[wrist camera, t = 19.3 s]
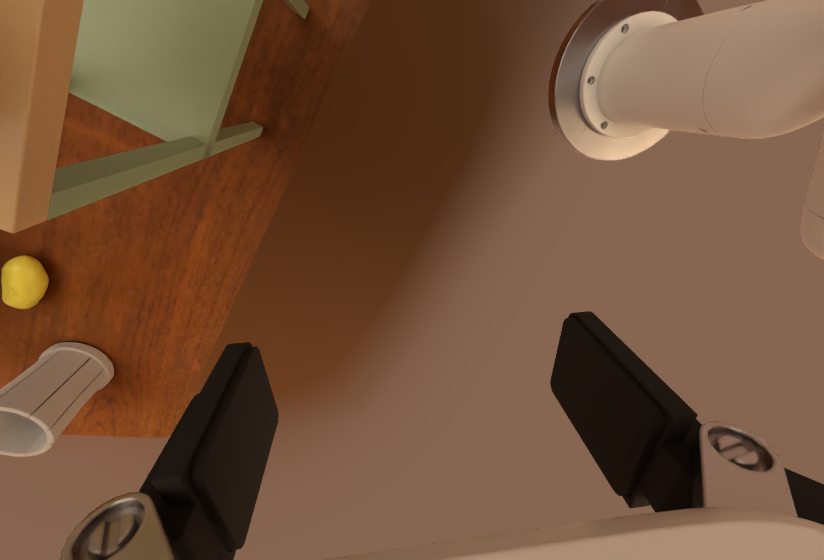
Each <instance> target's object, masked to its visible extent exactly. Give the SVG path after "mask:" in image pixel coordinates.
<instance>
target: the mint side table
mask: <svg viewBox="0 0 824 560" xmlns="http://www.w3.org/2000/svg"><path fill="white" fill-rule="evenodd" d="M283 1H284V2H285V3H286V4H287V5H288V6H289V8H290V9H291V10H292V11H293V12H294V13H295V14H297V15H298V16H300V17H301V18H302V19H304V20H305V19H306V16H307V14H308V11H309V6H308V5H307V3H306V2H305V1H304V0H283ZM262 2H263V0H0V229H2V230H4V231H7V232H10V233H16V232H19V231H21V230H24V229H26V228H29V227H31V226H34V225H36V224H39V223H41V222H44V221H46V220H50V219H52V218H55V217H57V216H60V215H62V214H65V213H67V212H70V211H72V210H75V209H78V208H80V207H83V206H85V205H88V204H90V203H93V202H95V201H98V200H100V199H103V198H105V197H108V196H110V195H113V194H116V193H118V192H121V191H123V190H126V189H128V188H131V187H133V186H136V185H138V184H141V183H143V182H146V181H148V180H151V179H154V178H156V177H159V176H161V175H164V174H166V173H169V172H171V171H174V170H176V169H179V168H181V167H184V166H186V165H189V164H192V163H194V162H197V161H199V160H202V159H204V158H207V157H209V156H212V155H214V154H217V153H219V152H222V151H224V150H227V149H230V148H232V147H235V146H237V145H240V144H242V143H245V142H247V141H250V140H252V139H255V138H257V137H260V135H261V132H262V130H263V127H262V126H261V125H259V124H257V123H255V122H254V121H252V122H248V123H244V124H240V125H236V126H231V127H227V128H223V129H219V128H220V125H221V123H222V120H223V117H224V114H225V111H226V108H227V105H228V102H229V99H230V96H231V93H232V90H233V87H234V84H235V81H236V79H237V76H238V73H239V70H240V67H241V64H242V61H243V58H244V55H245V52H246V49H247V46H248V43H249V40H250V37H251V35H252V32H253V29H254V26H255V23H256V20H257V17H258V14H259V11H260V8H261V5H262ZM68 92H69V93H71V94H73V95H75V96H77V97H79V98H81V99H83V100H85V101H87V102H89V103H91V104H93V105H95V106H97V107H99V108H101V109H103V110H105V111H107V112H109V113H111V114H113V115H115V116H117V117H119V118H121V119H123V120H125V121H127V122H129V123H131V124H133V125H135V126H137V127H139V128H141V129H143V130H145V131H147V132H149V133H151V134H153V135H155V136H157V137H159V138H161V139H163V140H165V141H167V142H164V143H160V144H156V145H152V146H148V147H143V148H139V149H135V150H131V151H127V152H123V153H118V154H114V155H110V156H106V157H102V158H97V159H93V160H89V161H85V162H81V163H76V164H72V165H68V166H64V167H60V168H56V163H57V157H58V151H59V145H60V139H61V133H62V127H63V121H64V115H65V109H66V103H67V97H68Z"/></svg>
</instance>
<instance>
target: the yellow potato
mask: <svg viewBox="0 0 824 560" xmlns="http://www.w3.org/2000/svg"><path fill="white" fill-rule="evenodd" d="M1 283H2V300H3V302H4V303H5V304H7V305H9V306H11V307H14V308H18V309H27V308H31V307H33V306H35V305H36V304H37V303H38V302H39V300H40V299H41V298H42V297H43V296H44V294H45V292H46V290H47V287H48V283H49V278H48V275H47V273H46V271H45V269H44V268H43V266H42V264H41V263H40V262H39V261H38V260H37V259H35V258H33V257H31V256H25V255H23V256H17V257H14V258H12V259H11V260H9V261H8V262H7V263H5V265H4V266H3V268H2V276H1Z"/></svg>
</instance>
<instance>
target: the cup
mask: <svg viewBox="0 0 824 560" xmlns="http://www.w3.org/2000/svg"><path fill="white" fill-rule="evenodd" d="M113 375H114V368H113V364H112V362H111V361H110V360H109V359H108V357H107V356H106V355H105V354H104V353H102V352H101V351H100V350H98V349H96V348H94V347H92V346H89V345H86V344H82V343H76V342H63V343H58V344H55V345H53V346H51V347H50V348H48V349H47V350H46V351H44V352H43V353H42V354H41V356H40V357H39V359H38V361H37V362H36V363H35V364H34V365H32V366H31V367H30V368H28V369H27V370H26V371H25V372H23V373H22V374H21V375H19V376H18V377H17V378H16V379H14V380H13V381H11V382H10V383H9V384H7V385H6V386H4V387H3V388H2V389H0V454H4V455H9V456H33V455H38V454H41V453H43V452H45V451H47V450H49V448H50V447H51V446H52V445H53V444H54V442H55V441H56V439H57V438H58V437H59V436H60V434H61V433H62V432H63V431H64V429H65V428H66V427H67V425H68V424H69V423H70V422H71V420H72V419H73V418H74V417H75V415H76V414H77V413H78V412H79V410H80V409H81V408H82V407H83V406H84V405H85V403H86V402H87V401H88V400H89V399H90V398H91V397H92V395H93V394H94V393H95V392H96V391H98V390H100V389H102V388H104V387H105V386H106V385H107V384H108V382H109V381H110V380H111V379H112V378H113Z"/></svg>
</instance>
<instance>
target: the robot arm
mask: <svg viewBox="0 0 824 560" xmlns="http://www.w3.org/2000/svg"><path fill="white" fill-rule="evenodd" d="M621 29H622V31H621ZM588 79H589V81H588ZM579 98H580V106H581V110H582V113H583V116H584V118H585V119H586V121H587V123H588V124H589V125H590V126H591V127H592V128H593V129H594V130H595V131H597V132H598V133H600V134H602V135H605V136H609V137H615V138H625V137H630V136H634V135H637V134H639V133H641V132H644V131H646V130H647V129H649V128H650V127H651V128H659V129H668V130H676V131H684V132H693V133H701V134H710V135H718V136H726V137H735V138H744V139H760V138H769V137H774V136H778V135H782V134H785V133H789V132H791V131H794V130H796V129H799V128H802V127H804V126H806V125H808V124H810V123H813V122H815V121H817V120H819V119H821V118H823V117H824V0H765V1H762V2H757V3H753V4H748V5H744V6H740V7H736V8H732V9H727V10H723V11H719V12H714V13H710V14H706V15H702V16H697V17H693V18H689V19H685V20H680V21H677V20H676V19H675V18H674V17H673V16H671V15H669V14H666V13H664V12H658V11H648V12H641V13H638V14H635V15H632V16H630V17H627V18H625V19H623V20H621V21H620V22H618V23H617V24H616V25H614V26H613V27H612V28H610V29H609V30H608V31H607V32H606V33H605V34H604V35H603V36H602V37H601V39H600V40H599V41H598V43H597V44H596V45H595V47H594V48H593V50H592V52H591V54H590V55H589V57H588V59H587V61H586V64H585V67H584V69H583V72H582V77H581V81H580V91H579ZM821 141H822V145H821V148H820V152H819V156H818V159H817V162H816V166H815V169H814V173H813V176H812V180H811V183H810V187H809V190H808V193H807V197H806V200H805V205H804V208H803V213H802V218H801V223H800V232H801V237H802V240H803V242H804V244H805V246H806V247H807V248H808V250H809V251H811V252H812V253H813V254H814V255H816V256H817V257H819V258H820V259H822V260H824V132H823V136H822V140H821ZM550 383H551V389H552V392H553V393H554V395H555V397H556V398H557V400H558V401H559V403H560V405H561V406H562V408H563V410H564V411H565V412H566V414H567V416H568V418H569V419H570V421H571V423H572V424H573V426H574V427H575V429H576V431H577V432H578V434H579V435H580V437H581V439H582V440H583V442H584V443H585V445H586V447H587V448H588V450H589V452H590V453H591V455H592V456H593V458H594V460H595V461H596V463H597V464H598V466H599V468H600V469H601V471H602V472H603V474H604V476H605V477H606V479H607V481H608V482H609V484H610V485H611V487H612V489H613V490H614V491H615V493H616V494H618V495H619V496H623V498H624V499H625V501H626V503H627V504H628V506H629V508H636V507H643V506H649V505H651V506H652V508H653V509H654V511H655V512H656V513H648V514H639V515H631V516H624V517H616V518H609V519H601V520H595V521H587V522H580V523H573V524H565V525H558V526H551V527H544V528H537V529H530V530H523V531H516V532H509V533H502V534H495V535H488V536H481V537H475V538H468V539H461V540H454V541H447V542H440V543H433V544H426V545H420V546H412V547H406V548H399V549H392V550H386V551H379V552H372V553H366V554H359V555H352V556H346V557H339V558H332V559H326V560H824V485H823V484H821V483H819V482H816V481H814V480H812V479H809V478H807V477H805V476H802V475H800V474H797V473H795V472H792V471H790V470H788V469H786V468H784V466H783V463H782V461H781V459H780V457H779V455H778V454H777V453H776V452H775V451H774V450H773V448H772V447H771V446H770V445H769V444H767V443H766V442H765V441H764V440H762V439H761V438H760V437H758V436H757V435H755V434H753V433H751V432H750V431H748V430H746V429H744V428H742V427H739V426H737V425H734V424H730V423H727V422H721V421H711V422H706V423H705V424H703V425H701V424H700V423H699V422H698V421H697V420H696V417H697V414H696V413H695V412H694V411H693V410H692V409H691V408H690V407H689V406H688V405H687V404H686V403H685V402H684V401H683V400H682V399H681V398H680V397H679V396H678V395H677V394H676V393H675V392H674V391H673V390H672V389H671V388H670V387H669V386H668V385H667V384H666V383H665V382H663V381H662V380H661V379H660V378H659V377H658V376H657V375H656V374H655V373H654V372H653V371H652V370H651V369H650V368H649V367H648V366H647V365H646V364H645V363H644V362H643V361H642V360H641V359H640V358H639V357H638V356H637V355H636V354H635V353H634V352H633V351H632V350H631V349H630V348H629V347H627V345H625V344H624V343H623V342H622V341H621V340H620V339H619V338H618V337H617V336H616V335H615V334H614V333H613V332H612V331H611V330H610V329H609V328H608V327H607V326H606V325H605V324H604V323H603V322H602V321H601V320H600V319H599V318H598V317H597V316H596V315H595V314H594V313H592V312H578V313H571V314H570V315H569V317H568V318H566V319H565V320H564V322H563V327H562V331H561V336H560V340H559V345H558V349H557V354H556V358H555V363H554V367H553V372H552V376H551V382H550ZM277 423H278V410H277V406H276V403H275V400H274V396H273V393H272V390H271V387H270V384H269V380H268V377H267V374H266V370H265V367H264V364H263V361H262V357H261V354H260V351H259V348H258V347H252V345H251V343H249V342H247V343H235V344H229V345H227V346H226V347H225V349H224V351H223V353H222V354H221V356H220V358H219V360H218V362H217V363H216V365H215V367H214V369H213V371H212V372H211V374H210V376H209V378H208V379H207V381H206V383H205V385H204V386H203V388H202V390H201V392H200V394H197V395H196V396H195V397H194V398H193V399H192V400H191V402H190V404H189V405H188V407H187V409H186V411H185V412H184V414H183V416H182V418H181V419H180V421H179V423H178V424H177V426H176V428H175V430H174V431H173V433H172V435H171V437H170V439H169V440H168V442H167V444H166V445H165V447H164V449H163V451H162V452H161V454H160V456H159V457H158V459H157V461H156V463H155V465H154V466H153V468H152V470H151V471H150V473H149V475H148V477H147V478H146V480H145V482H144V484H143V485H142V487H141V489H140V491H139V492H136V493H127V494H124V495H120V496H117V497H115V498H113V499H111V500H109V501H107V502H105V503H103V504H102V505H100V506H99V507H98V508H96V509H95V510H94V511H92V512H91V513H89V514H88V515H87V516H86V517H85V518H84V519H83V520H82V521H81V522H80V523H79V524H78V525H77V526H76V528H75V529H74V530H73V532H72V533H71V534H70V536H69V537H68V538H67V541H66V543H65V545H64V547H63V549H62V551H61V558H60V560H233V559H234V556H235V552H236V549H241V548H242V547H243V545H244V542H245V540H246V536H247V532H248V529H249V525H250V522H251V518H252V514H253V511H254V507H255V503H256V500H257V496H258V493H259V489H260V485H261V482H262V478H263V474H264V471H265V467H266V463H267V459H268V456H269V452H270V449H271V445H272V442H273V438H274V434H275V431H276V427H277Z"/></svg>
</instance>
